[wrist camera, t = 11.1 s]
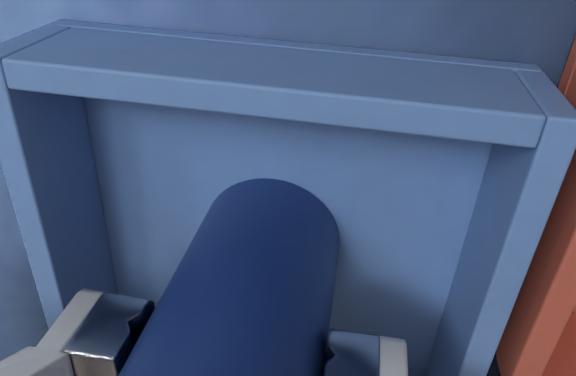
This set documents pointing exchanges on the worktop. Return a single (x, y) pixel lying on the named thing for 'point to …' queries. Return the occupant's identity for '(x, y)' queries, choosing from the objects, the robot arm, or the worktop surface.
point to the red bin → (548, 284)
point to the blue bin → (287, 169)
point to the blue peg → (247, 290)
